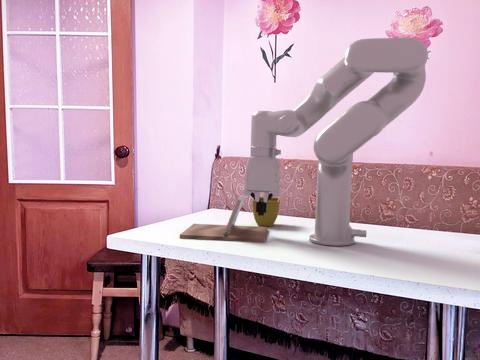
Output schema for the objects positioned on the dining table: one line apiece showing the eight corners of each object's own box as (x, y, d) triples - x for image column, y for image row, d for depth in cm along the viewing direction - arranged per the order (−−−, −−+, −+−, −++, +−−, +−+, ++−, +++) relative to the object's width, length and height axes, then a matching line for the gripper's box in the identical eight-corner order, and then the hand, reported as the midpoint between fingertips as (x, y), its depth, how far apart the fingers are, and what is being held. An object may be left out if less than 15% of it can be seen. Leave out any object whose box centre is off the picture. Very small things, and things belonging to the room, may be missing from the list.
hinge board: (267, 230, 140) (267, 223, 139) (263, 242, 122) (263, 234, 122) (193, 226, 142) (193, 220, 142) (179, 238, 125) (179, 230, 124)
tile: (245, 195, 137) (242, 194, 137) (241, 200, 125) (237, 198, 125) (234, 225, 138) (230, 223, 138) (228, 232, 126) (224, 230, 126)
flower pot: (277, 228, 144) (278, 200, 143) (251, 226, 145) (252, 199, 144) (279, 223, 152) (280, 197, 152) (254, 222, 154) (255, 196, 153)
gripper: (288, 154, 132) (286, 214, 133) (239, 152, 134) (237, 212, 135) (288, 154, 124) (286, 218, 126) (236, 152, 126) (234, 215, 128)
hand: (261, 214), depth 130 cm, fingers closed
